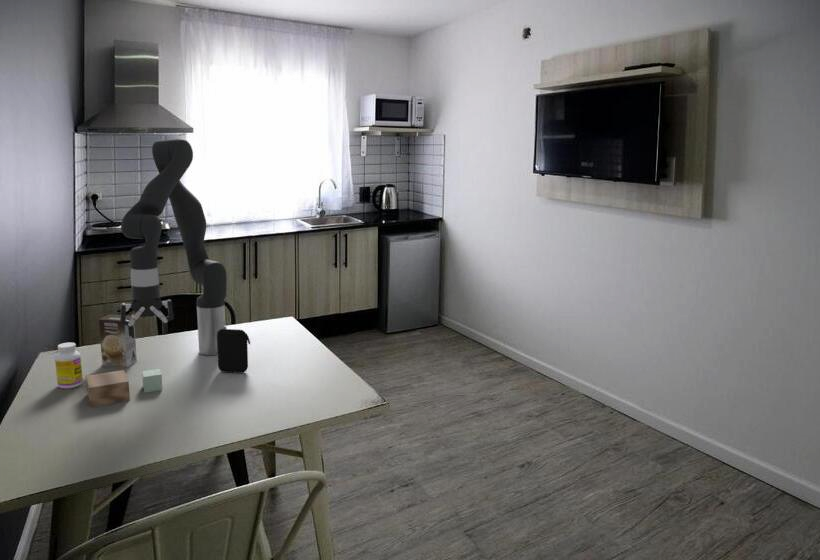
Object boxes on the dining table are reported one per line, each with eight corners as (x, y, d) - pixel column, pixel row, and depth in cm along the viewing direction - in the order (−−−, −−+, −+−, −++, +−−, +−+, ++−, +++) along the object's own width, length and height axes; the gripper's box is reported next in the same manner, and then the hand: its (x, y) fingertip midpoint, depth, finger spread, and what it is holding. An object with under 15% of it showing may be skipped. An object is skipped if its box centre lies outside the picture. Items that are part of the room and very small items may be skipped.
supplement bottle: (77, 389, 175) (73, 348, 172) (54, 389, 174) (49, 348, 171) (86, 380, 182) (82, 341, 179) (63, 381, 181) (59, 341, 178)
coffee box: (101, 365, 194) (96, 319, 190) (112, 359, 200) (108, 313, 196) (127, 367, 193) (123, 320, 189) (138, 360, 199) (134, 315, 196)
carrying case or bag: (252, 371, 193) (251, 328, 190) (249, 374, 190) (248, 331, 187) (220, 370, 193) (218, 327, 190) (217, 373, 190) (215, 330, 187)
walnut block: (125, 388, 177) (123, 369, 176) (130, 400, 169) (128, 381, 168) (87, 395, 172) (85, 375, 171) (90, 408, 164) (89, 387, 162)
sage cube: (160, 383, 181) (159, 368, 180) (162, 390, 177) (161, 374, 176) (143, 386, 179) (142, 371, 178) (144, 392, 174) (143, 377, 173)
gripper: (170, 278, 177) (172, 329, 181) (117, 281, 171) (121, 334, 174) (173, 283, 171) (175, 336, 174) (118, 287, 164) (122, 342, 168)
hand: (148, 335), depth 174 cm, fingers open, 8 cm apart
